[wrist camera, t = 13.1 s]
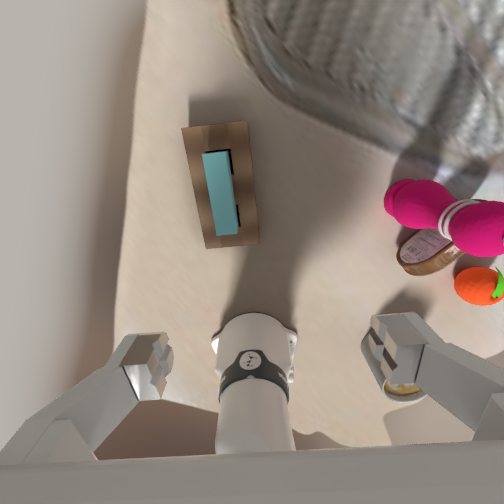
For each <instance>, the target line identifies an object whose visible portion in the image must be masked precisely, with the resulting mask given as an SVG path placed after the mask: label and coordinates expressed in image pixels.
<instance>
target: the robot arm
mask: <svg viewBox="0 0 504 504" xmlns="http://www.w3.org/2000/svg"><path fill="white" fill-rule="evenodd" d="M370 324H371V326H372V328H373V329H372V330H371V331H370V332H369V339H368V340H369V346H370V349H371V352H372V354H373V355H374V357H375V358H376V359H377V360H379V361H380V362H381V370H382V371H383V373H384V375H385V377H386V378H387V380H388V382H389V384H412V383H415V385H416V386H417V387H419V388H420V389H421V390H422V391H424V392H425V393H426V394H427V395H429V396H430V397H431V398H433V399H434V400H435V401H436V402H438V403H439V404H440V405H441V406H443V407H444V408H445V409H447V410H448V411H449V412H450V413H452V414H453V415H454V416H456V417H457V418H458V419H459V420H461V421H462V422H463V423H464V424H466V425H467V426H468V427H470V428H471V429H472V430H473V431H475V432H474V435H473V437H472V439H471V441H470V442H451V443H431V444H412V445H392V446H373V447H353V448H335V449H316V450H296V448H295V444H294V439H293V434H292V429H291V424H290V418H289V412H288V402H289V387H288V383H287V382H289V383H292V382H293V379H294V377H293V371H294V368H293V364H292V360H293V356H294V351H295V347H296V342H297V334H296V333H295V332H294V331H292V330H289V329H287V328H285V327H284V326H283V325H282V324H281V323H280V322H279V321H277V320H276V319H275V318H273V317H271V316H268V315H265V314H260V313H247V314H243V315H240V316H237V317H235V318H233V319H232V320H230V321H229V322H228V323H227V324H226V325H225V327H224V329H223V330H222V332H221V333H220V334H218V335H217V336H215V337H214V338H213V339H212V343H211V345H212V347H213V349H214V351H215V353H216V364H215V372H217V374H218V376H219V378H220V379H221V382H220V386H219V402H220V410H219V418H218V426H217V434H216V441H215V449H216V455H197V456H177V457H159V458H158V457H157V458H137V459H119V460H98V459H97V458H96V456H95V455H94V453H93V452H94V451H95V449H96V448H97V447H98V446H99V445H100V444H101V443H102V442H103V441H104V439H106V437H107V436H108V435H109V434H110V433H111V432H112V431H113V430H114V429H115V428H116V427H117V425H118V424H119V423H120V422H121V421H122V420H123V419H124V418H125V417H126V416H127V414H128V413H129V412H130V411H131V410H132V409H133V408H134V407H135V406H136V405H137V403H138V401H143V400H144V401H145V400H155V399H161V397H162V394H163V391H164V389H165V386H166V383H167V382H166V379H165V377H166V376H167V375H168V374H169V373H170V372H171V369H172V366H173V359H174V356H173V350H172V347H170V346H169V345H168V344H167V343H168V340H169V338H168V336H167V333H165V332H153V333H140V334H128V335H126V336H125V337H124V339H123V340H122V342H121V343H120V344H119V346H118V347H117V349H116V350H115V352H114V353H113V355H112V356H111V358H110V359H109V361H108V362H107V364H106V365H105V367H104V368H100V369H98V370H96V371H95V372H94V373H92V374H91V375H89V376H88V377H87V378H85V379H84V380H82V381H81V382H80V383H78V384H77V385H75V386H74V387H73V388H71V389H70V390H68V391H67V392H66V393H64V394H63V395H61V396H60V397H58V398H57V399H56V400H54V401H53V402H51V403H50V404H49V405H47V406H46V407H44V408H43V409H41V410H40V411H39V412H37V413H36V414H34V415H33V416H32V417H30V418H29V419H27V420H26V421H25V422H24V424H23V425H22V426H21V427H20V428H19V430H18V431H17V432H16V433H15V434H14V436H13V437H12V438H11V439H10V440H9V442H8V443H7V444H6V446H5V447H4V448H3V449H2V450H1V451H0V504H504V368H502V367H500V366H498V365H495V364H493V363H491V362H489V361H487V360H485V359H483V358H481V357H479V356H477V355H475V354H473V353H470V352H468V351H466V350H464V349H462V348H460V347H458V346H456V345H454V344H452V343H445V342H444V341H443V340H442V339H441V338H440V337H439V336H438V335H437V334H436V333H435V332H434V331H433V330H432V328H431V327H430V326H429V325H428V324H427V323H426V322H425V321H424V320H423V319H422V318H421V317H420V316H419V315H418V314H417V313H415V312H404V313H395V314H384V315H372V317H371V321H370Z"/></svg>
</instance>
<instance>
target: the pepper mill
mask: <svg viewBox="0 0 504 504" xmlns="http://www.w3.org/2000/svg"><path fill="white" fill-rule="evenodd" d="M384 207H385V210H386V211H387V213H388V214H390V215H392V216H393V217H395V219H396V220H397V221H398V222H399V223H400V224H402V225H403V226H406V227H408V228H413V229H426V228H434V229H437V230H439V232H440V234H441V235H442V236H443V237H445V238H447V239H449V240H451V241H453V243H454V244H455V246H456V247H457V248H458V249H460V250H461V251H463V252H465V253H467V254H470V255H472V256H477V257H493V256H498V255H501V254H504V202H498V201H486V202H479V201H475V200H471V199H464V200H460V201H459V200H457V199H455V198H453V197H452V196H451V194H450V193H449V191H448V190H447V189H446V188H445V187H444V186H442V185H441V184H439V183H437V182H434V181H431V180H418V181H415V180H409V179H408V180H402V181H399V182H397V183H396V184H394V185H393V186H392V187H391V188H390V189H389V190H388V191H387V193H386V195H385V198H384Z"/></svg>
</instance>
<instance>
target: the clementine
mask: <svg viewBox="0 0 504 504" xmlns="http://www.w3.org/2000/svg"><path fill="white" fill-rule="evenodd" d="M495 268H496V267H495ZM496 269H497V268H496ZM497 271H498V272H496V271H494V270H492V269H489V268H486V267H471V268H467V269H465V270H463V271H461V272H460V273H459V274H458V275H457V276H456V278H455V281H454V288H455V290H456V292H457V294H458V295H459V296H460V297H461V298H462V299H463V300H465V301H467V302H469V303H471V304H475V305H481V306H486V305H492V304H495V303H497V302H499V301H500V300H502V299H503V298H504V278H503V276H502V274H501V272H500V271H499V270H498V269H497Z"/></svg>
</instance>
